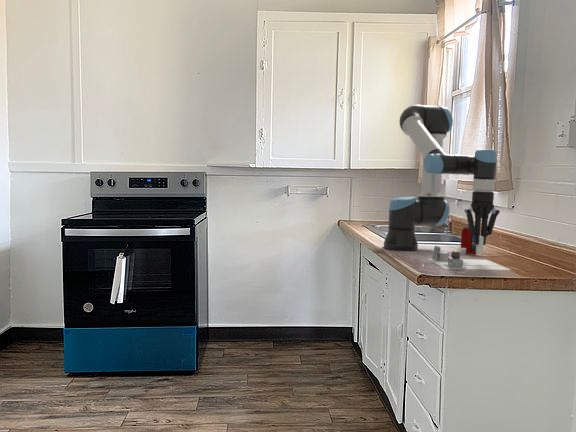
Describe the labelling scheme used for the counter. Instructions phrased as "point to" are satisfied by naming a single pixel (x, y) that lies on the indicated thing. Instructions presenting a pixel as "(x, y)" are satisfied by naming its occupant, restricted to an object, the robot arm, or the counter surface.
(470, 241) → the beverage can
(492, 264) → the door board
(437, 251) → the keeper
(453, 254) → the latch bar
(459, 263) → the grey latch pivot mount
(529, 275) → the counter surface
